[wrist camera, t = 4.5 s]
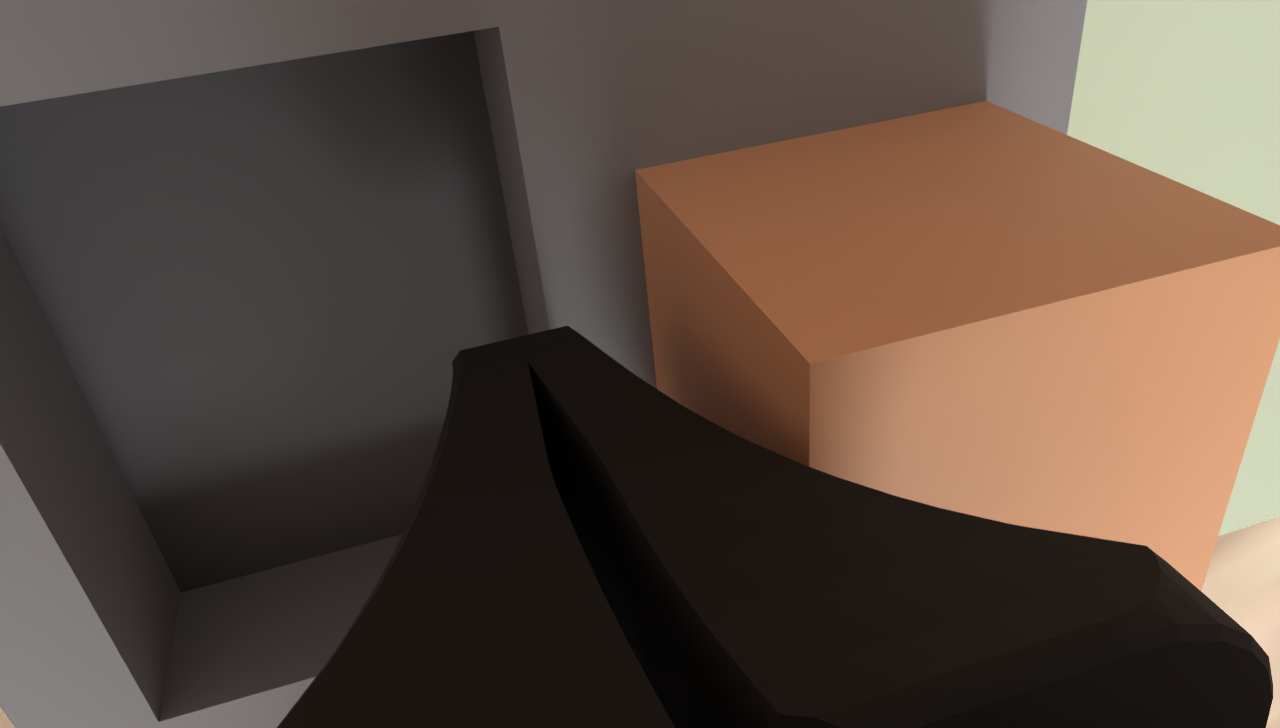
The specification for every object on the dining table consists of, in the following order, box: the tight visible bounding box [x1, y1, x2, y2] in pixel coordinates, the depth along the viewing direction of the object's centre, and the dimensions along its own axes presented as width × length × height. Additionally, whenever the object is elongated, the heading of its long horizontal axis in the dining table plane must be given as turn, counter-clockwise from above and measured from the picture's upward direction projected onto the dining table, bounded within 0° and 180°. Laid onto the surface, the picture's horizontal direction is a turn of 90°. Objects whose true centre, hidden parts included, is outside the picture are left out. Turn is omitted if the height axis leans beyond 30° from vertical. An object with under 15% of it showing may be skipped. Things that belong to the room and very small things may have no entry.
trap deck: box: [0, 0, 1280, 728], centre depth 14 cm, size 14×32×3 cm, turn 95°
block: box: [635, 101, 1280, 591], centre depth 10 cm, size 4×4×4 cm
